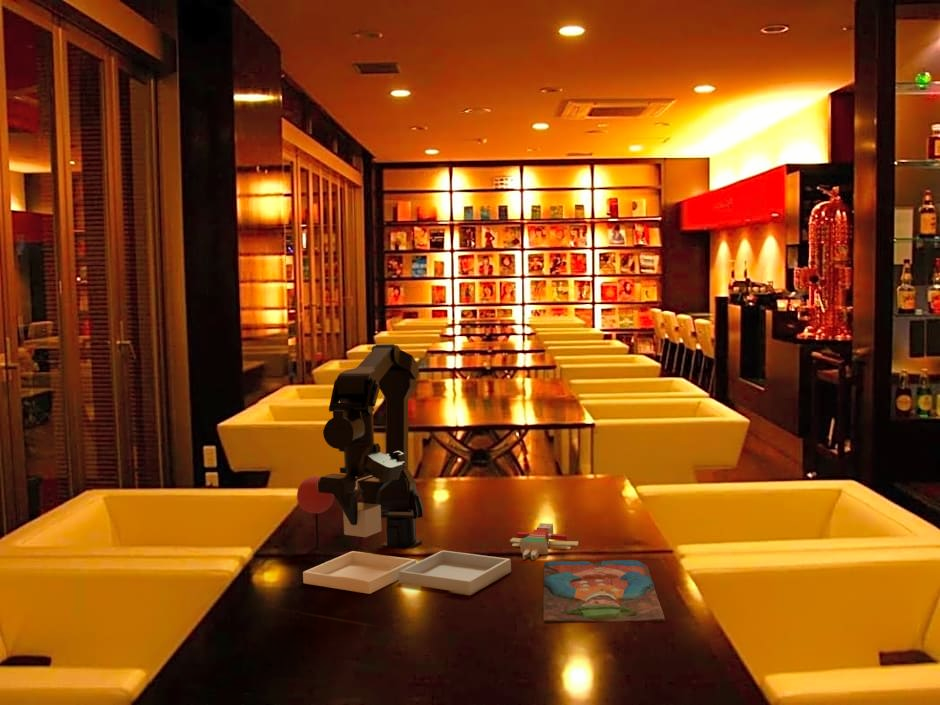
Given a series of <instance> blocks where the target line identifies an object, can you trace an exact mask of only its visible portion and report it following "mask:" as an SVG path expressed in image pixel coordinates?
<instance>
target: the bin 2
mask: <svg viewBox="0 0 940 705" xmlns="http://www.w3.org/2000/svg"><path fill="white" fill-rule="evenodd" d="M511 561H512V560H511V558H505V557H497V556H490V555H489V556H488V555H482V554H475V553H468V552H467V553H466V552H460V551H459V552H458V551H450V550H440V551H439V552H438V551H437V552H436V553H434V554H432V555H430V556H427V557H425V558H424V559H421V560H419V561H416V563H415V564H413V565H411V566H409V567H407V568H405V569H403V570H401V571H399V580H398V583H399V584H405V585H410V586H411V585H412V586H419V587H424V588H430V589H437V590H438V589H439V590H442V591H443V590H445V591H448V593H452V594H458V595H465V596H471V595H474V594H476V593H478V592H479V591H480V590H482V589H484V588H486V587H487V586H489V585H491V584H492V583H494V582H496V581H498V580H499V579H502V578H503V577H505V576H506V575H508V574H510V573H511V572H512V563H511Z"/></svg>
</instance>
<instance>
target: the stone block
mask: <svg viewBox="0 0 940 705" xmlns="http://www.w3.org/2000/svg"><path fill="white" fill-rule="evenodd" d="M342 513H343V514H342V517H343V534H344V535H345V536H353V537H361V538H369V537H370V536H372V535H376V534H378V533H380V532H382V530H383V529H382V518H381V505H378V504H369V503H364V502H358V514H357V524H356V525H351V524H350V522H349V520H348V518H347V516H346V515H345V513H344V511H343V510H342Z"/></svg>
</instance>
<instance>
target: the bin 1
mask: <svg viewBox="0 0 940 705" xmlns="http://www.w3.org/2000/svg"><path fill="white" fill-rule="evenodd" d="M415 563H417V559H414V558H413V559H412V558H407V557H399V556H392V555H386V554H385V555H384V554H377V553H370V552H362V551H354V550H352V551H349V552H346V553H345V554H342V555H340V556H338V557H335V558H333V559H332V558H331V559H330V560H328V561H325V562H324V563H321V564H319V565H316V566H314V567H311V568H309V569H307V570H304V571H303V572H302V580H303V581H302V582H303V584H306V585H311V586H319V587H325V588H330V589H331V588H332V589H338V590H343V591H344V590H345V591H350V592H355V593H363V594H369V595H371V594H373V593H375V592H377V591H378V590H381V589H382V588H385V587H387V586H389V585H391V584H392V583H395V582H397V581H399V571H401V570H403V569H405V568H407V567H409V566H411V565H413V564H415Z"/></svg>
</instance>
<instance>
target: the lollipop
mask: <svg viewBox="0 0 940 705" xmlns="http://www.w3.org/2000/svg"><path fill="white" fill-rule="evenodd" d="M321 477H322V476H310V477H307V478H306V479H303V481H302V482H300V484H299V486H298V487H297V492H296V498H297V503H298V505H299V506H300V508H301V509H302V510H303V511H304V512H307V513H309V514H314V516H315V517H314V518H315V519H314V520H315V537H316V538H315V539H316V540H315V541H316V548H320V540H319V539H320V538H319V517H318V515H319V514H321V513H324V512H326V511H328V510H329V509H330V508H331V506H332V505H333V502H334V499H335V496H334V495H333V494H330V493H320V492H318V485H317V481H318V480H319V479H320V478H321Z"/></svg>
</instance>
